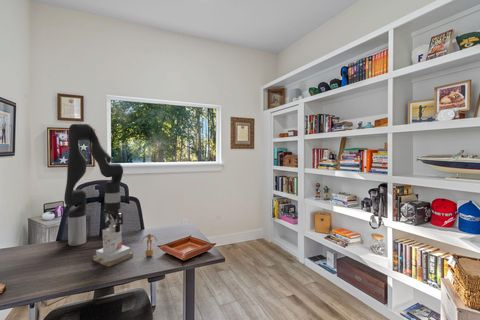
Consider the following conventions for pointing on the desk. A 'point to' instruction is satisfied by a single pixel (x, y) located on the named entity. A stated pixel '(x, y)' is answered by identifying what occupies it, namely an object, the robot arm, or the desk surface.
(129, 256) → the birch base slab
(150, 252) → the figurine
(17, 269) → the desk surface
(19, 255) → the desk surface
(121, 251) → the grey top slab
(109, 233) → the ink cartridge box
